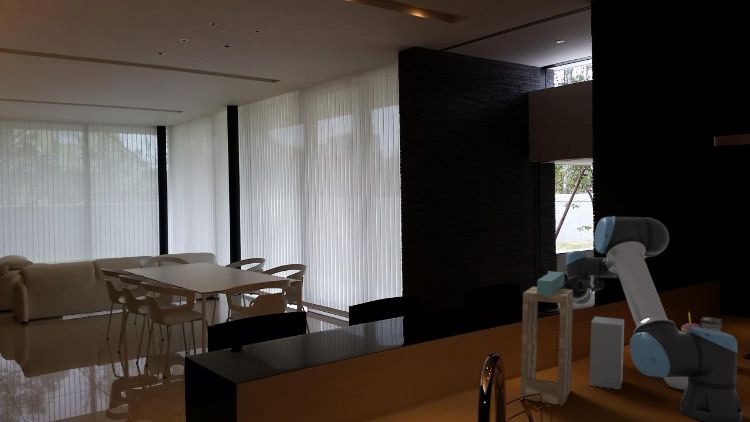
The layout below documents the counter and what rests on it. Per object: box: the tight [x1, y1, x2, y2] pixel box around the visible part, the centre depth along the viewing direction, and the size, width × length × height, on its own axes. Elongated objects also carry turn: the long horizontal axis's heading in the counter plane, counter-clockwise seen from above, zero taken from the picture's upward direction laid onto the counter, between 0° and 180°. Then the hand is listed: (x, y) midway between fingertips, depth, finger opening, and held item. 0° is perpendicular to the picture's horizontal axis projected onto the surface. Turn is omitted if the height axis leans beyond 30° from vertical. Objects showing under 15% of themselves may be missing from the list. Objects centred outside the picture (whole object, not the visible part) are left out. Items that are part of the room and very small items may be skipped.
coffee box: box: [699, 316, 723, 332], centre depth 222 cm, size 9×6×16 cm
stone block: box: [589, 316, 625, 390], centre depth 196 cm, size 10×9×20 cm
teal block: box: [536, 271, 565, 295], centre depth 187 cm, size 24×4×4 cm, turn 155°
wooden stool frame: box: [520, 285, 574, 406], centre depth 183 cm, size 15×12×31 cm
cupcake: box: [680, 312, 700, 333], centre depth 259 cm, size 9×8×12 cm
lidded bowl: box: [662, 377, 688, 391], centre depth 194 cm, size 13×13×11 cm
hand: (569, 277), depth 203 cm, fingers open, 13 cm apart
